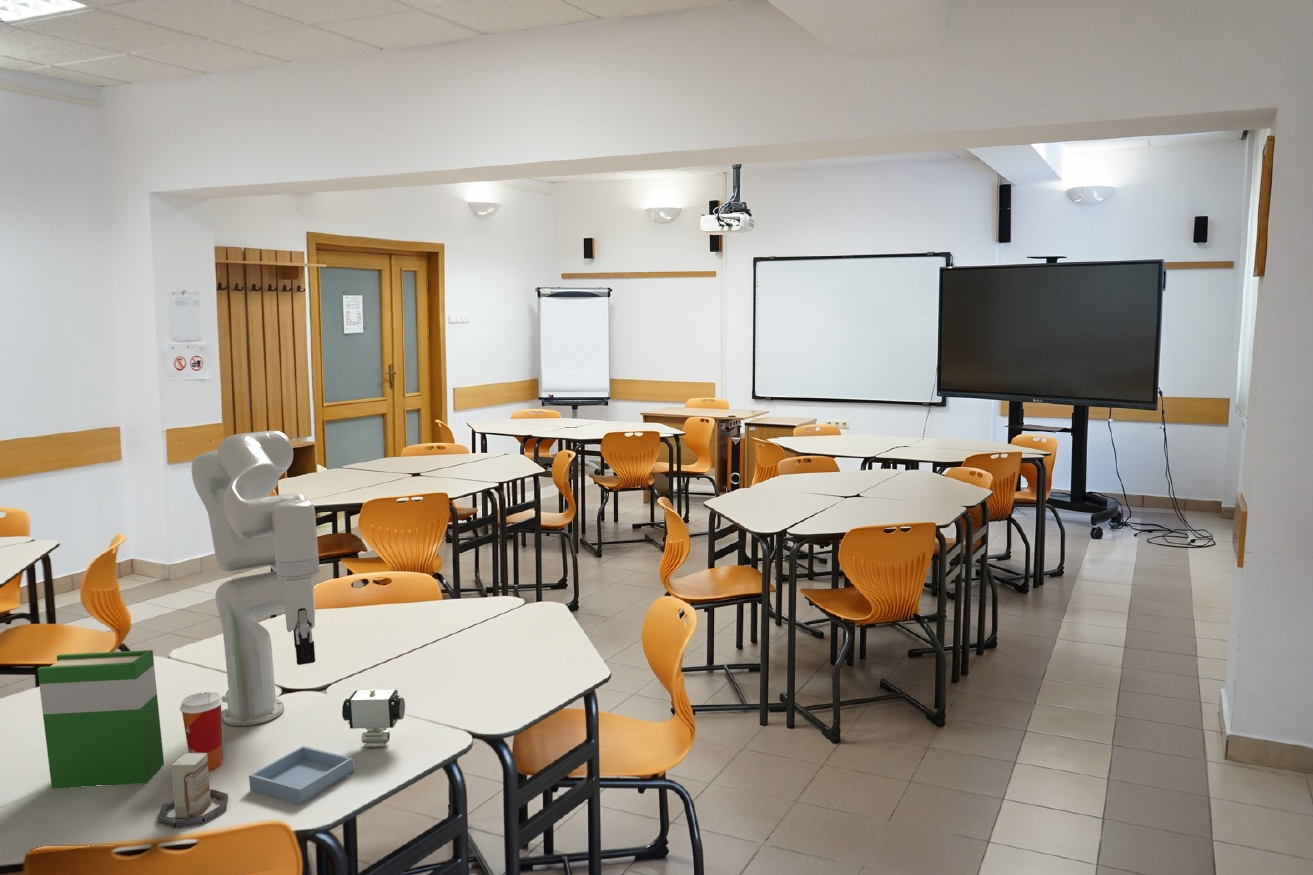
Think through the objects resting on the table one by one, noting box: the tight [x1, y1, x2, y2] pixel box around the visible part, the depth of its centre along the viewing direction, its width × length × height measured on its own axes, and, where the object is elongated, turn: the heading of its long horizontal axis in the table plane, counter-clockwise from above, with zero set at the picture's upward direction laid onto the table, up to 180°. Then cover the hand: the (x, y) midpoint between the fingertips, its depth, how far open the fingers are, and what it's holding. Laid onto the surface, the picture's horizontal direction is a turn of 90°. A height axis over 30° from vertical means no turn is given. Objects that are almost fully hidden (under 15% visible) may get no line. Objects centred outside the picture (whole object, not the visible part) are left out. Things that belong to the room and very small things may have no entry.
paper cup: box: [179, 691, 224, 772], centre depth 187 cm, size 8×8×14 cm
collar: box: [157, 788, 229, 829], centre depth 171 cm, size 11×11×1 cm
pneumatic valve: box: [341, 688, 406, 749], centre depth 195 cm, size 6×12×12 cm, turn 90°
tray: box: [248, 745, 355, 806], centre depth 181 cm, size 13×13×3 cm
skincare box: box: [171, 752, 212, 819], centre depth 170 cm, size 5×4×10 cm
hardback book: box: [37, 649, 165, 790], centre depth 183 cm, size 18×7×24 cm, turn 94°
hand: (304, 654), depth 178 cm, fingers open, 9 cm apart
